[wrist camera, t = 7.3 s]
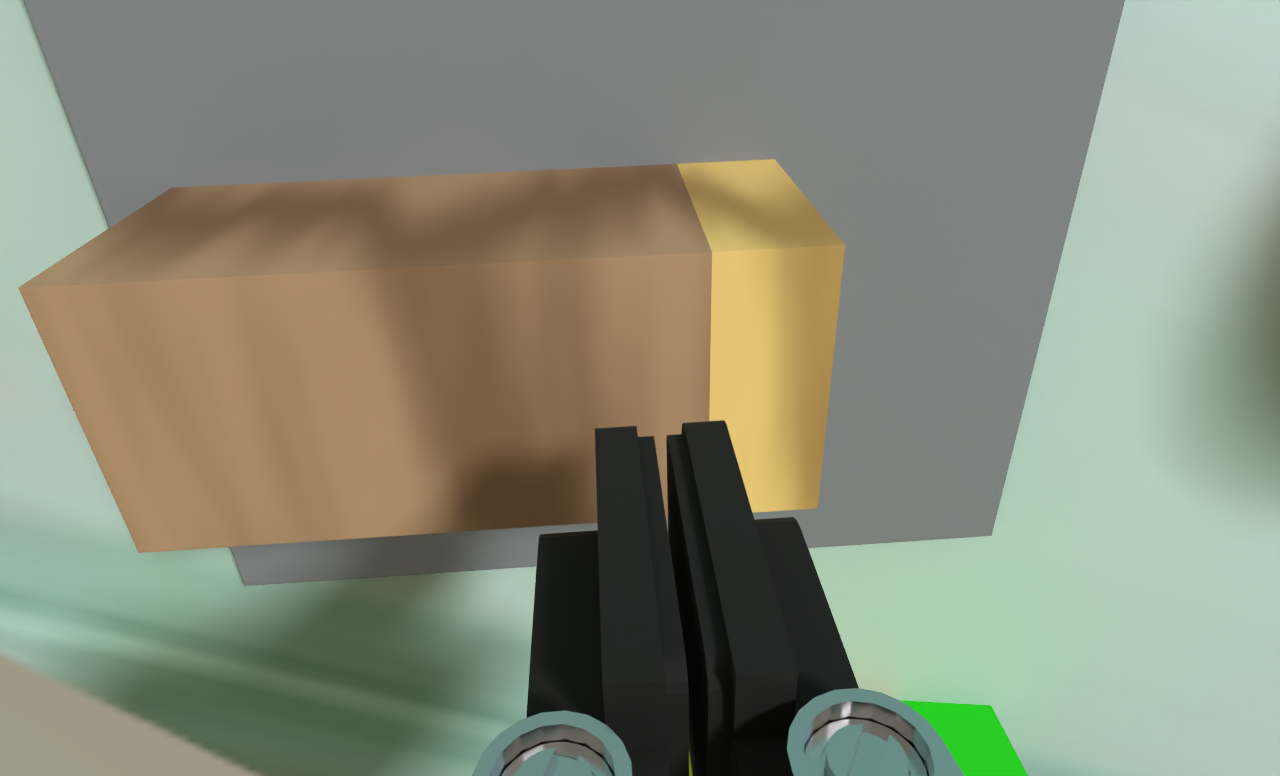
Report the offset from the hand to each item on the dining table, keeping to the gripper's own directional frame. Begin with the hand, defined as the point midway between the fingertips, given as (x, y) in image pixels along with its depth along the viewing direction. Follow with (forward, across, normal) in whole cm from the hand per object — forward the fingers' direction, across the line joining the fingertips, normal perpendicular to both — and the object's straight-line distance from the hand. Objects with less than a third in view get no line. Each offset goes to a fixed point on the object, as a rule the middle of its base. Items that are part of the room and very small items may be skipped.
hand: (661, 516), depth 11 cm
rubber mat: (+9, 0, 0) cm, 9 cm away
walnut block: (+6, -3, 0) cm, 6 cm away
